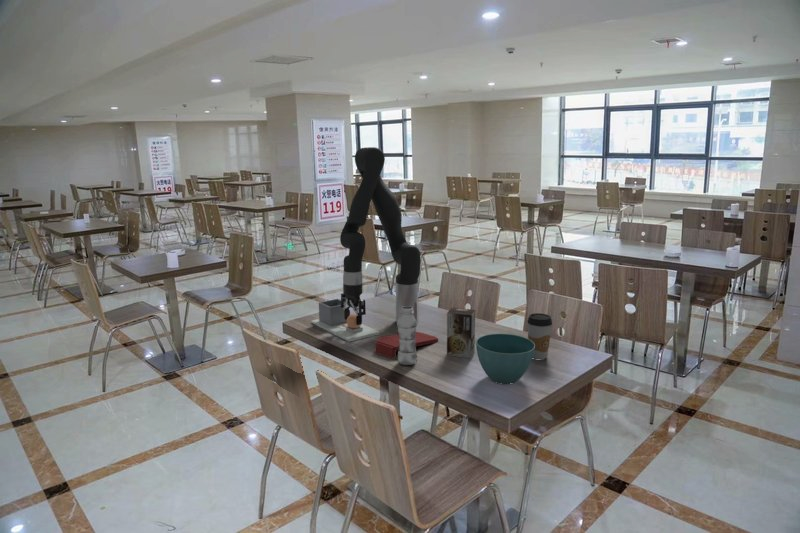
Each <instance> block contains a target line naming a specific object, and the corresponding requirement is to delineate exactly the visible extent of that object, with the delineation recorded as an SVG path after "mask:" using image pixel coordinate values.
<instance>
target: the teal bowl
mask: <svg viewBox="0 0 800 533" xmlns="http://www.w3.org/2000/svg"><path fill="white" fill-rule="evenodd" d="M475 347H476V353H477V358H478V361H479V364H480V366H481V368H482V370H483V371H484V373H485V374H486V376H487V377H488V378H489V379H490V380H491V381H492V382H493V381H494V382H493V383H495V382H497V383H496V384H498V383H502V384H501V385H511V384H510V383H513V384H515V383H517V382H518V381H519V380H520V379H521V378H523V376H524V375H525V374H526V372H527V371H528V369H529V367H530V365H531V363H532V362H533V359H532V358H533V355H534V351H535V344H534V342H532V341H531V340H529V339H528V337H525V336H521V335H518V334H512V333H511V334H510V333H491V334H485V335H482V336H480V337H478V338H477V339H475Z"/></svg>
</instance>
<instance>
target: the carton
mask: <svg viewBox="0 0 800 533" xmlns="http://www.w3.org/2000/svg"><path fill="white" fill-rule="evenodd" d="M435 342H436V343H438V342H439V338H438V337H436V336H435V335H431V334H427V333H424V332H420V331H419V332H418V331H416V333H415V346H416V347H420V346H426V345H429V344H436V343H435ZM374 348H375V349H374V353H375V354H379V355H381V356H383V357H387V358H389V357H390V359H393V358H394V357H395V358H396V355H397V354H396V353H397V352H398V351H399V333H398V334H397V333H395V334H392V335H385V336H381V337H379V338H378V339H377V340H376V342H375V347H374Z"/></svg>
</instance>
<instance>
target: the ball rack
mask: <svg viewBox="0 0 800 533" xmlns="http://www.w3.org/2000/svg"><path fill="white" fill-rule="evenodd" d="M344 303H345V302H343V305H344ZM318 317H319V318H317V319H312V320H311V324H313V325H314V326H317V327H319V328H321V329H323V330H324V331H326V332H329V333H330V334H332V335H334V336H336V337H339V338H341V339H343V340H344V341H347V342H354V341H357V340H362V339H366V338H369V337H373V336H377V335H380V331H379V330H376V329H374V328H372V327H369V326H367V325H365V324H363V323H362V324H361V326H360V327H359V328H356V329H351V328H350V327H349V326H348V325H347V320H345V319H344V310H343V308H341V299H339V298H335V299H334V298H333V299H330V300H326V301H319V302H318Z"/></svg>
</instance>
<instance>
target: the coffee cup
mask: <svg viewBox="0 0 800 533" xmlns="http://www.w3.org/2000/svg"><path fill="white" fill-rule="evenodd" d="M552 321H553V320H552V316H550V315H549V314H547V313H539V312H538V313H537V312H536V313H534V312H533V313H530V314H529V316H528V318H527V330H528V331H527V339H529V340H531V341H532V342H534V344H535V351H534V355H533V358H534V359H545V358H546V359H547V358H548V355H549V354H548V353H549V347H550V341H551V332H552V325H553V322H552ZM534 359H533V360H534ZM546 359H545V360H546Z"/></svg>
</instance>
